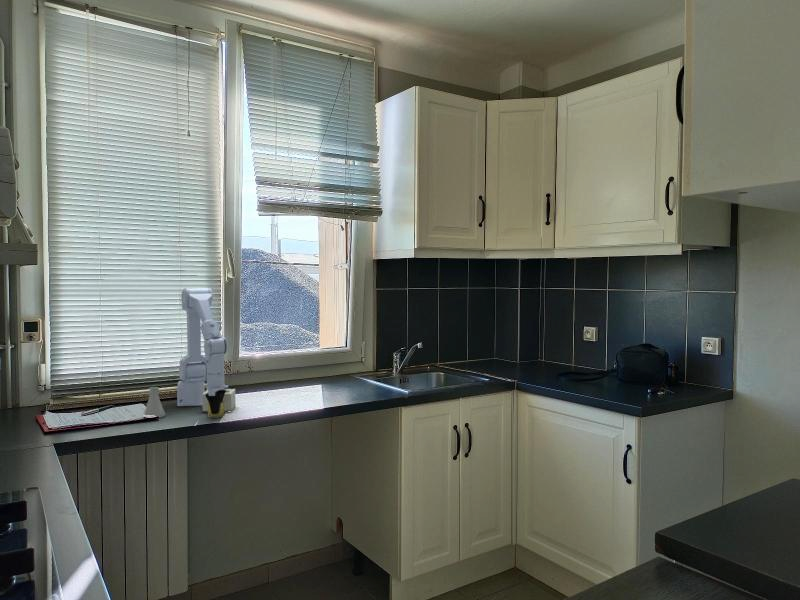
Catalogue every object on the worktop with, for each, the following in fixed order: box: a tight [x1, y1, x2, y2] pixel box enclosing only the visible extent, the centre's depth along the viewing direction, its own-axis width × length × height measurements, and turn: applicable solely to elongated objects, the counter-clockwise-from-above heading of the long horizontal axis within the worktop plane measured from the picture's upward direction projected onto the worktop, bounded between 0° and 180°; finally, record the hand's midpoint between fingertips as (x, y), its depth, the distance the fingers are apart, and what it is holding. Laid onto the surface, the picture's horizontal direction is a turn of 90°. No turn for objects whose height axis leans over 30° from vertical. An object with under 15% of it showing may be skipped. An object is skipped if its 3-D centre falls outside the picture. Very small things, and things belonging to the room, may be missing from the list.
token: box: [207, 402, 225, 418], centre depth 205 cm, size 5×2×5 cm, turn 96°
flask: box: [143, 386, 166, 419], centre depth 205 cm, size 7×7×10 cm
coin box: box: [201, 388, 236, 413], centre depth 216 cm, size 10×8×6 cm
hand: (216, 412), depth 205 cm, fingers open, 3 cm apart
